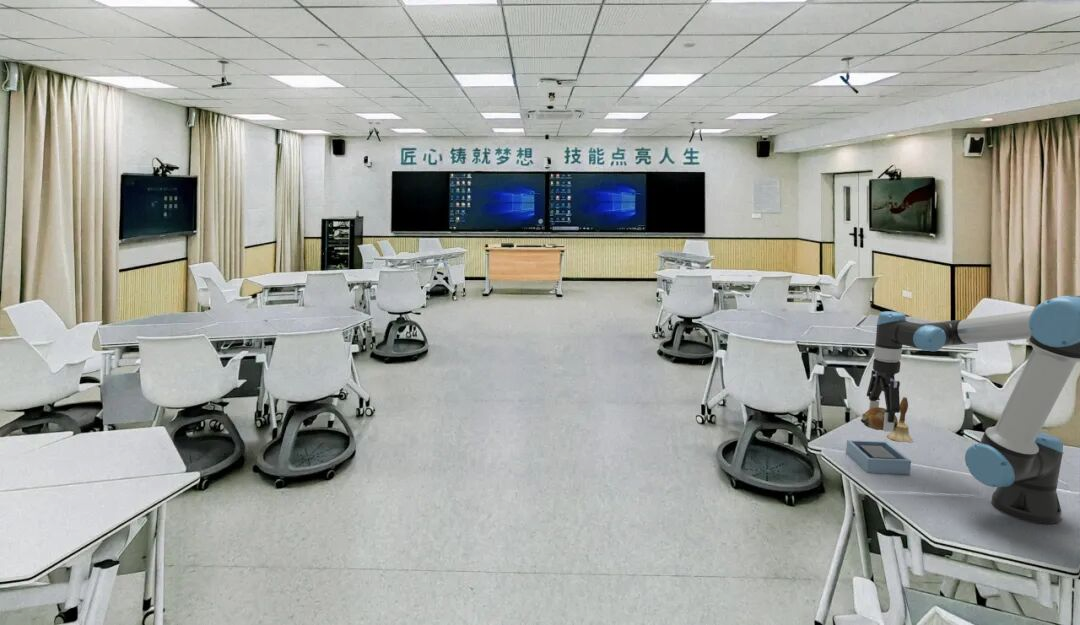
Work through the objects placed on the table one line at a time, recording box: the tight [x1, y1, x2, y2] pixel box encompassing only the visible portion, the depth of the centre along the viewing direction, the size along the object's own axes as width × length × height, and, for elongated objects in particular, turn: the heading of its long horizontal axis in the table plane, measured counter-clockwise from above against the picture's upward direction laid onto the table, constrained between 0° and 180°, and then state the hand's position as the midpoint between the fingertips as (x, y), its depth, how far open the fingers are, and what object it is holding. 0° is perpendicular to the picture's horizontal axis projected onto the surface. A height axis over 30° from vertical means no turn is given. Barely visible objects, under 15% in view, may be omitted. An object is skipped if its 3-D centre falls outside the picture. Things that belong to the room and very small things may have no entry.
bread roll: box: [860, 407, 899, 431], centre depth 191 cm, size 10×10×8 cm
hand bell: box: [886, 396, 914, 443], centre depth 216 cm, size 8×8×16 cm
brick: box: [860, 445, 896, 459], centre depth 193 cm, size 10×7×4 cm
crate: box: [845, 439, 912, 475], centre depth 193 cm, size 16×13×6 cm
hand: (880, 425), depth 191 cm, fingers closed on bread roll, 10 cm apart
